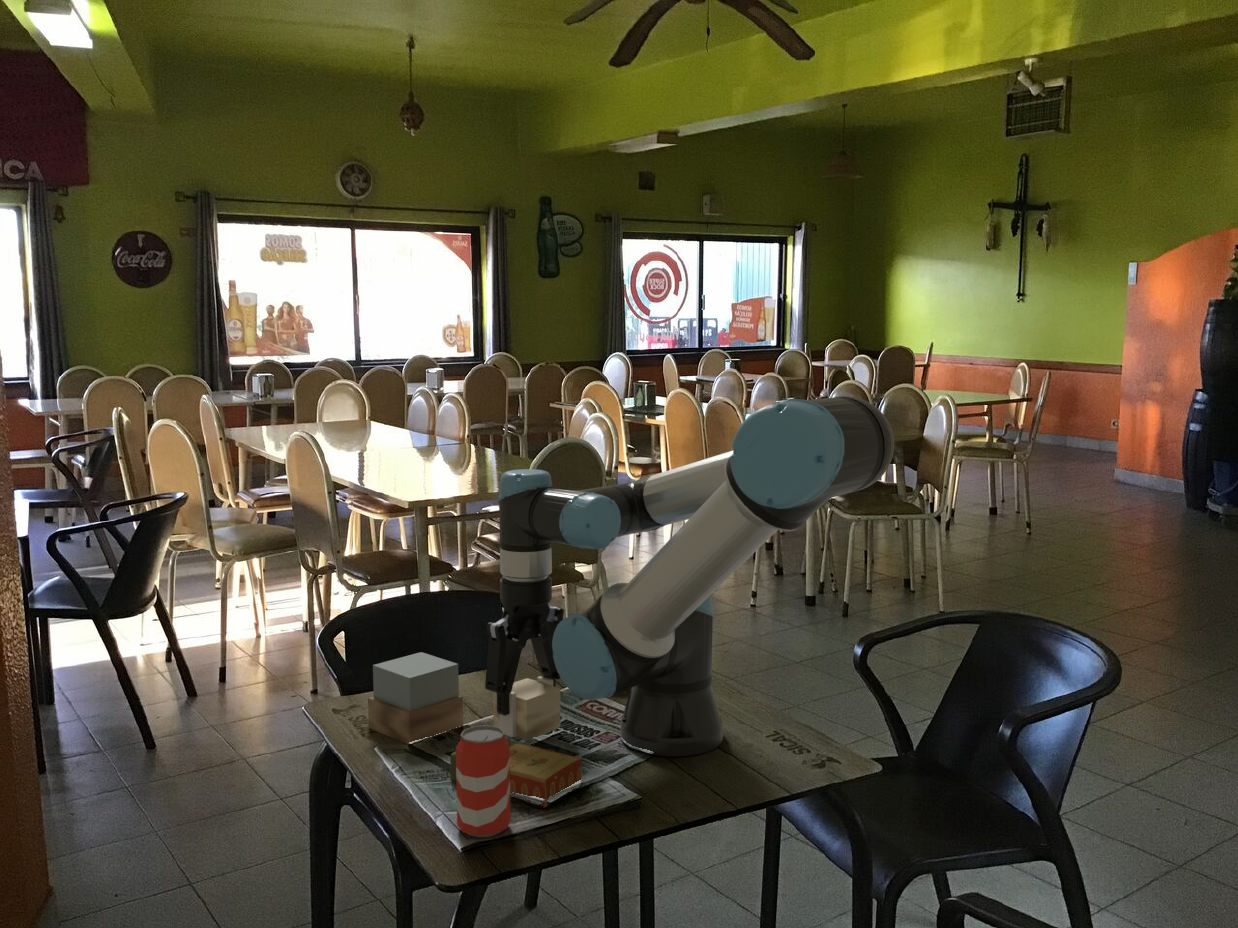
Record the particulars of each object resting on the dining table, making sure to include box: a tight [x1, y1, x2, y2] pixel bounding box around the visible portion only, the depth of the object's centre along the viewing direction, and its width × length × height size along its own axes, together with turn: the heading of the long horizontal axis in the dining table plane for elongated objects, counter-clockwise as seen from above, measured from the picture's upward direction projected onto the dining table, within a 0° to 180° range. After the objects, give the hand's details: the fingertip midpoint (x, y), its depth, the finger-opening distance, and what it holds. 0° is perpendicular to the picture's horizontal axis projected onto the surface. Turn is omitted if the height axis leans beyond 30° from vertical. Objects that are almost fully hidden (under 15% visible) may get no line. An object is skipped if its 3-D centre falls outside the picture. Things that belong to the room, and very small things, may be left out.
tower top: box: [372, 651, 460, 711], centre depth 164 cm, size 9×9×5 cm
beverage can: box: [455, 724, 511, 839], centre depth 131 cm, size 6×6×12 cm
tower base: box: [367, 694, 464, 745], centre depth 165 cm, size 10×10×5 cm
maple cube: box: [492, 677, 562, 740], centre depth 162 cm, size 7×7×7 cm
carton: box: [449, 740, 583, 808], centre depth 145 cm, size 8×16×4 cm, turn 57°
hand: (527, 726), depth 162 cm, fingers closed on maple cube, 7 cm apart
